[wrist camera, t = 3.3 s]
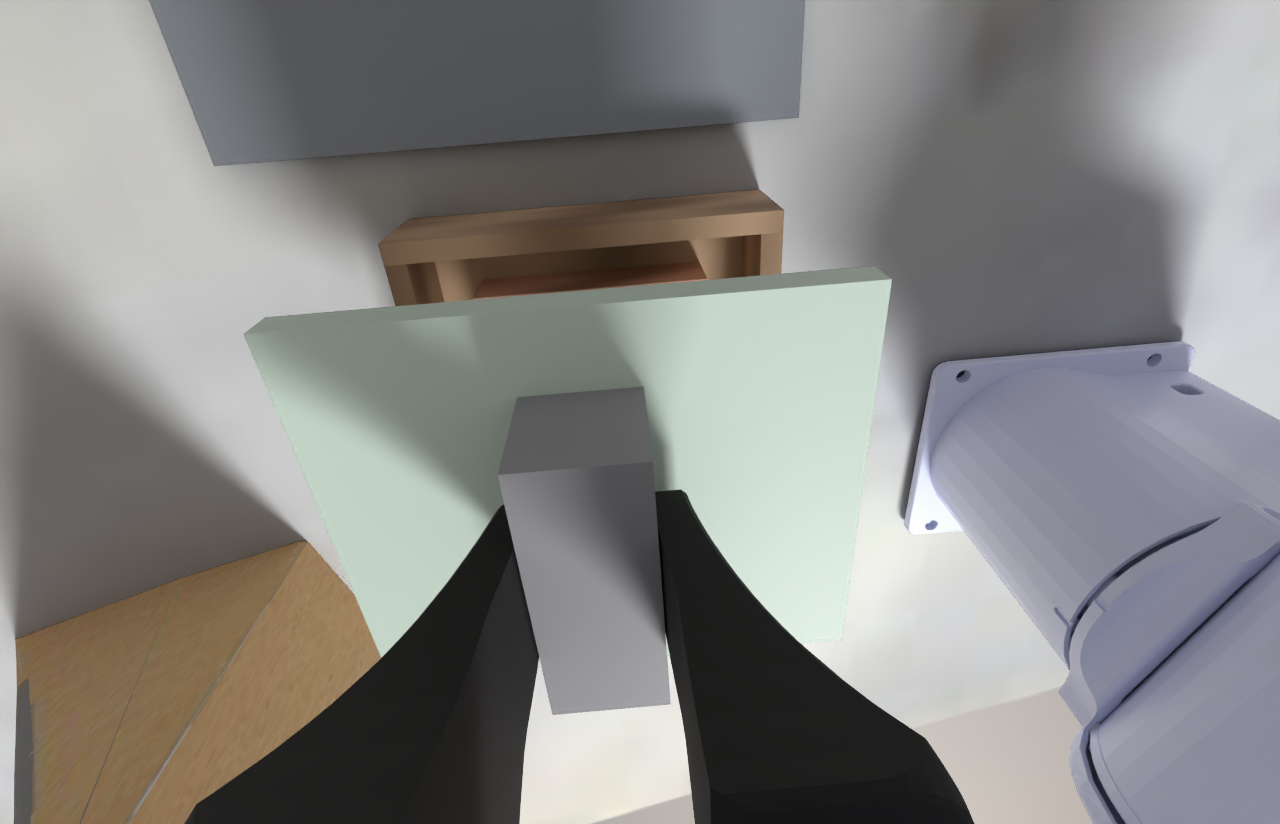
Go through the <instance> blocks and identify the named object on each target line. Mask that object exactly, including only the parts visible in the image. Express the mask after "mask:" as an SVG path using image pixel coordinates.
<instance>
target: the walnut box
mask: <svg viewBox="0 0 1280 824" xmlns="http://www.w3.org/2000/svg"><path fill="white" fill-rule="evenodd" d="M783 219H784V210H783V209H782V208H781V207H780V206H779V205H777V204H776V203H775V202H774V201H773V200H771V199H770V198H769V197H768V196H767V195H766V194H764V193H763V192H762V191H761V190H748V191H736V192H724V193H713V194H701V195H689V196H677V197H665V198H653V199H641V200H629V201H617V202H605V203H593V204H581V205H570V206H558V207H546V208H534V209H522V210H510V211H498V212H486V213H474V214H462V215H450V216H438V217H427V218H415V219H408V220H407V221H406V222H404V223H403V224H402V225H401V226H400V227H398V228H397V229H396V230H395V231H394V232H392V233H391V234H390V235H389V236H388V237H386V238H385V239H384V240H383V241H381V242H380V243H379V244H378V245H379V249H380V252H381V256H382V259H383V263H384V266H385V270H386V274H387V277H388V281H389V284H390V288H391V291H392V295H393V298H394V302H395V305H396V306H406V305H418V304H430V303H442V302H454V301H465V300H477V299H489V298H501V297H513V296H524V295H536V294H548V293H560V292H572V291H584V290H595V289H607V288H619V287H631V286H643V285H655V284H666V283H678V282H690V281H702V280H714V279H725V278H737V277H749V276H761V275H773V274H781V263H782V241H783Z"/></svg>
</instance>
